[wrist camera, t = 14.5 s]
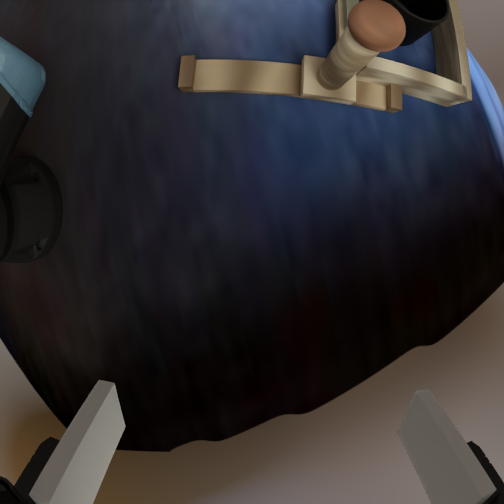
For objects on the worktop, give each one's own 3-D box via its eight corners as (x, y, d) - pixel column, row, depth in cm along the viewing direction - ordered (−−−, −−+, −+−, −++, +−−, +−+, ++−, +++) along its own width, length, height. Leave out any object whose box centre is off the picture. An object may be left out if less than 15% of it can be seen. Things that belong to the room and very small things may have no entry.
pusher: (299, 99, 32) (345, 31, 14) (301, -8, 28) (331, -103, 10) (350, 106, 33) (433, 56, 14) (348, 0, 29) (401, -83, 10)
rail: (182, 92, 32) (178, 86, 30) (185, 62, 31) (181, 55, 29) (393, 113, 33) (402, 109, 30) (393, 84, 32) (401, 80, 29)
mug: (328, 7, 29) (346, -29, 20) (390, -12, 28) (415, -41, 19) (370, 61, 31) (400, 36, 22) (429, 37, 30) (462, 16, 21)
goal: (350, 81, 32) (366, 66, 26) (345, -27, 27) (356, -49, 22) (446, 106, 32) (472, 100, 26) (434, 2, 28) (453, -13, 22)
